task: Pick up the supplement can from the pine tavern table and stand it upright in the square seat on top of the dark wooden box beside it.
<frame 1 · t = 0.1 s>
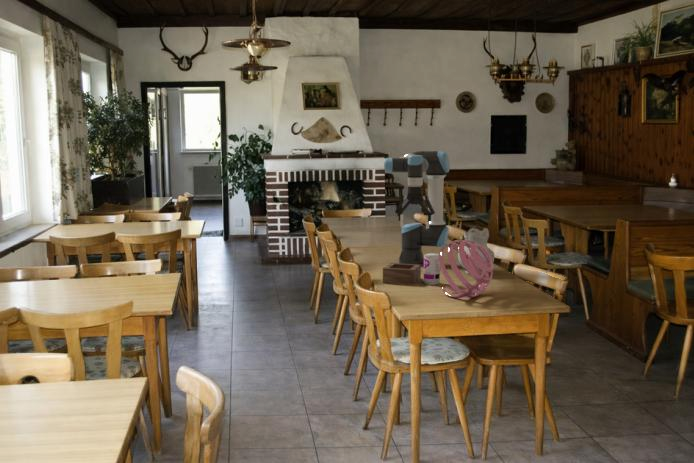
hand: (414, 227, 388), 28 cm above the table, fingers open, 13 cm apart
supplement can: (431, 283, 387), on the table
spiral basket: (465, 297, 358), on the table
grey rounded figure: (475, 273, 413), on the table
dark wooden box: (401, 280, 394), on the table
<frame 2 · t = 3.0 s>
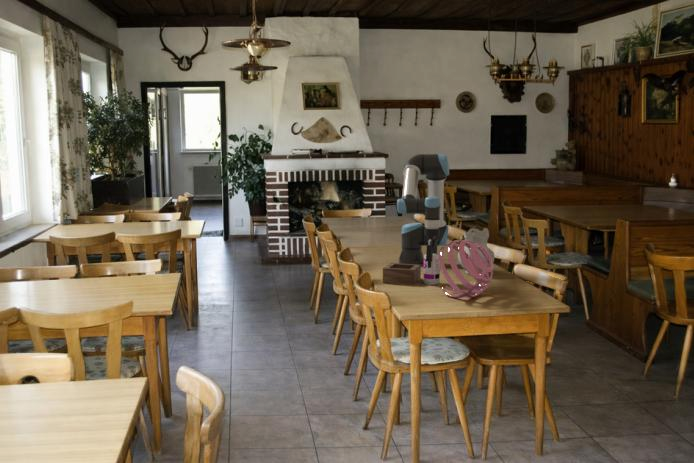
hand: (431, 272, 386), 6 cm above the table, fingers closed on supplement can, 8 cm apart
supplement can: (431, 283, 387), on the table, touching gripper
everything else where it was.
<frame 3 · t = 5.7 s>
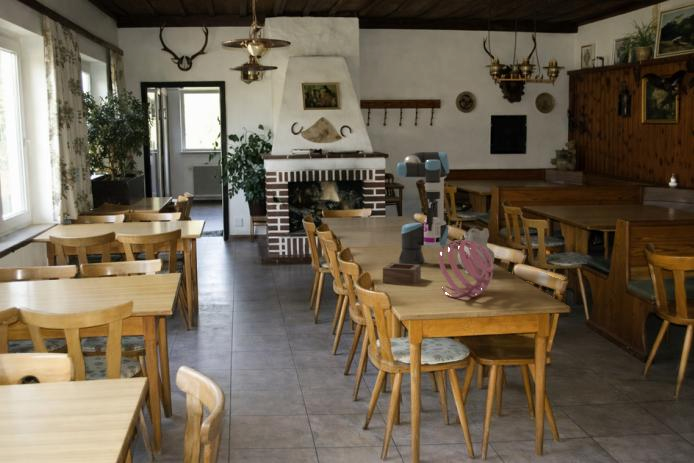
hand: (432, 235, 384), 24 cm above the table, fingers closed on supplement can, 8 cm apart
supplement can: (432, 247, 385), point 18 cm above the table, touching gripper
everything else where it was.
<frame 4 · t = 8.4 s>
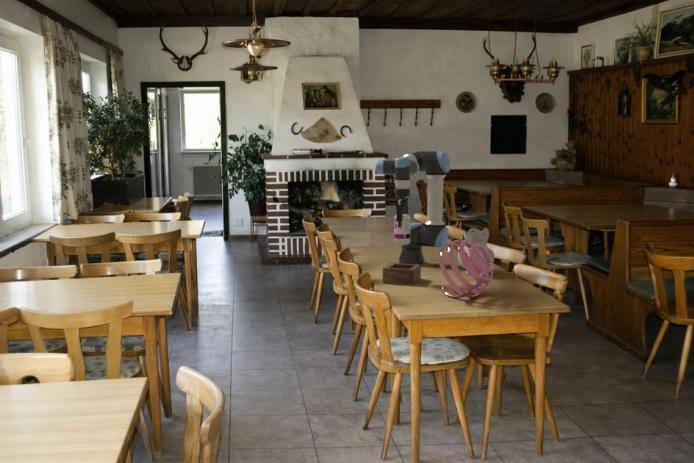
hand: (402, 232, 390), 25 cm above the table, fingers closed on supplement can, 8 cm apart
supplement can: (402, 244, 391), point 19 cm above the table, touching gripper
everything else where it was.
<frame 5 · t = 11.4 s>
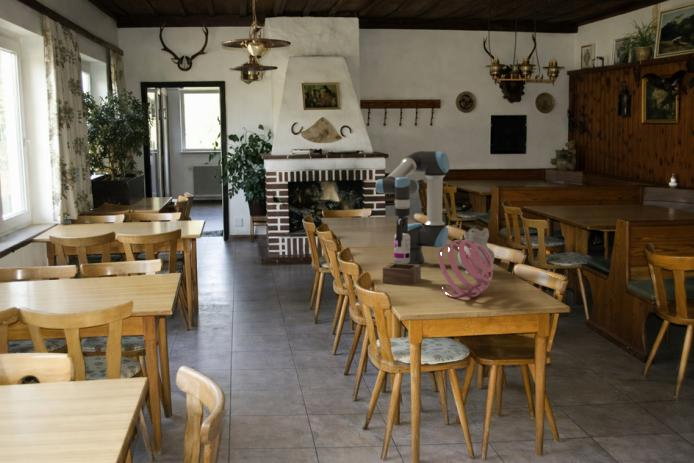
hand: (402, 251, 392), 15 cm above the table, fingers closed on supplement can, 8 cm apart
supplement can: (401, 263, 393), point 9 cm above the table, touching gripper
everything else where it was.
when the fingers open (10 cm above the table, at t = 14.1 s): supplement can stays where it is, resting on dark wooden box.
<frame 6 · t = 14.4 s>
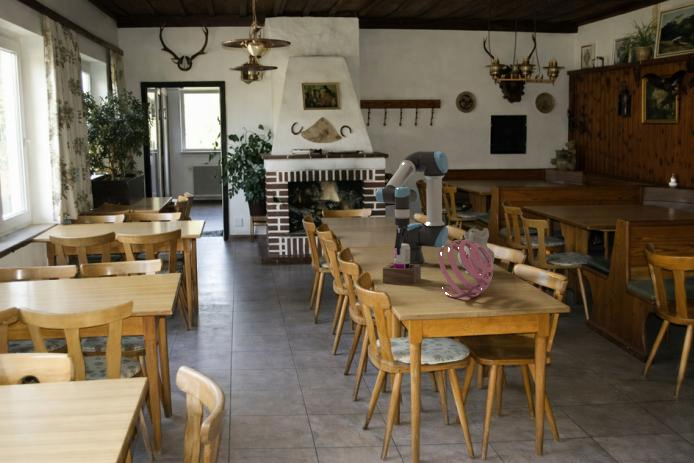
hand: (402, 258, 392), 12 cm above the table, fingers open, 12 cm apart
supplement can: (402, 273, 393), point 4 cm above the table, touching dark wooden box
everything else where it was.
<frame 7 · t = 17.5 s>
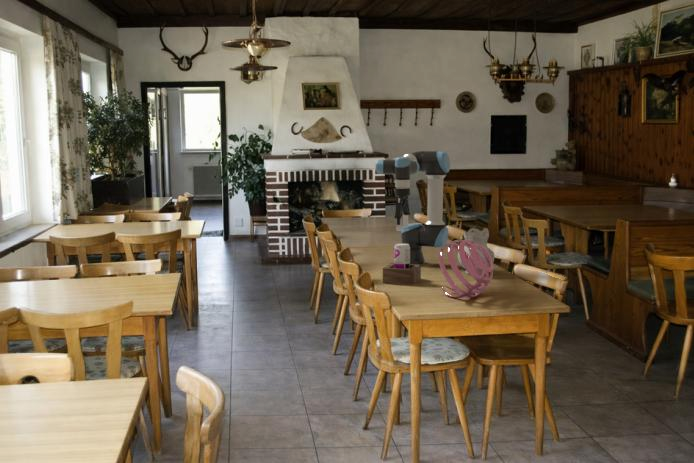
hand: (402, 229, 390), 27 cm above the table, fingers open, 13 cm apart
nothing on the table moved.
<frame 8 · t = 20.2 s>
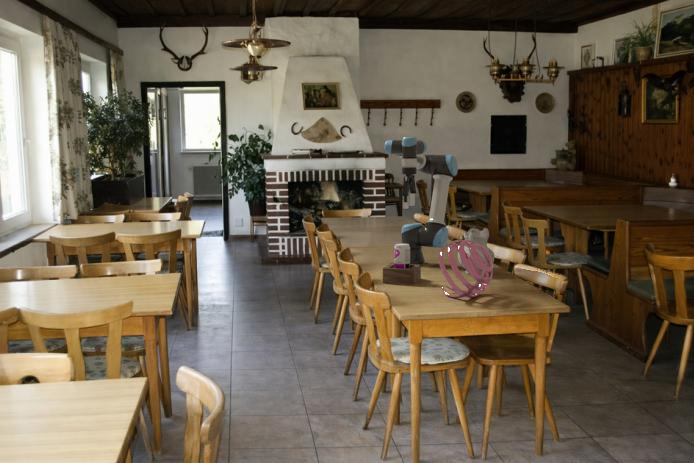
hand: (409, 207, 402), 37 cm above the table, fingers open, 13 cm apart
nothing on the table moved.
at the end: supplement can 0.1 cm off-centre on the dark wooden box, point 3.8 cm above the dark wooden box's base; supplement can tilted 0°; the gripper is holding nothing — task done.
